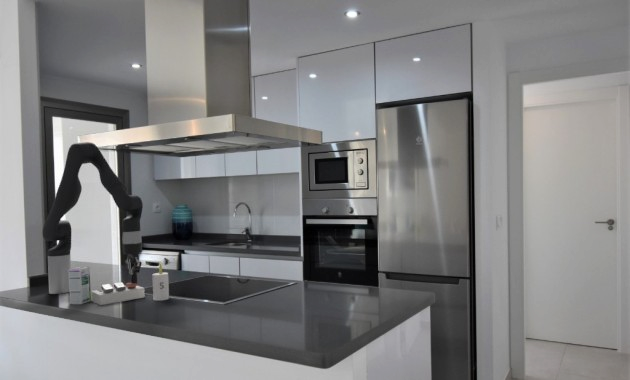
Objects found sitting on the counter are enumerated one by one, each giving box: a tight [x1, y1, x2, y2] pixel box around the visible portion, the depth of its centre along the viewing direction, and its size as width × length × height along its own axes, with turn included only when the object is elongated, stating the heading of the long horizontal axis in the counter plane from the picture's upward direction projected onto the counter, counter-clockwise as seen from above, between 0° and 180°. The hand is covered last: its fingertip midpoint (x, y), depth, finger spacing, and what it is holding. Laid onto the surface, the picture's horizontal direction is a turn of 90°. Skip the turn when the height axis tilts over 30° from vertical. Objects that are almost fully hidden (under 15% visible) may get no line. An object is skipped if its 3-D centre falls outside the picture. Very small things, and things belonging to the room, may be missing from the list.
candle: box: [151, 262, 170, 301], centre depth 199 cm, size 6×6×15 cm
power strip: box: [90, 285, 153, 306], centre depth 203 cm, size 12×24×5 cm, turn 131°
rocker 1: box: [101, 283, 114, 293], centre depth 196 cm, size 5×3×2 cm, turn 41°
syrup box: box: [69, 266, 92, 305], centre depth 197 cm, size 6×6×14 cm
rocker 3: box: [125, 282, 139, 287], centre depth 203 cm, size 5×3×2 cm, turn 41°
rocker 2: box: [113, 281, 126, 291], centre depth 200 cm, size 5×3×2 cm, turn 41°
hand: (134, 283), depth 201 cm, fingers closed
